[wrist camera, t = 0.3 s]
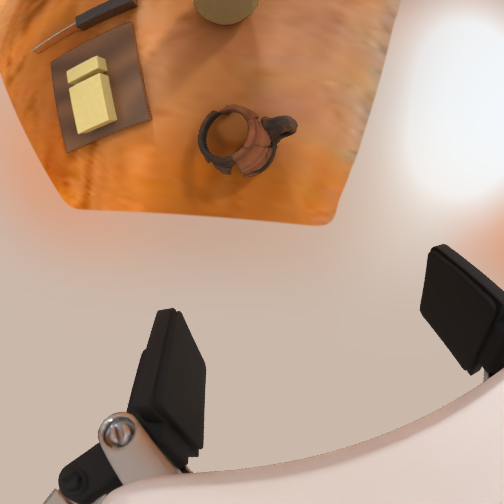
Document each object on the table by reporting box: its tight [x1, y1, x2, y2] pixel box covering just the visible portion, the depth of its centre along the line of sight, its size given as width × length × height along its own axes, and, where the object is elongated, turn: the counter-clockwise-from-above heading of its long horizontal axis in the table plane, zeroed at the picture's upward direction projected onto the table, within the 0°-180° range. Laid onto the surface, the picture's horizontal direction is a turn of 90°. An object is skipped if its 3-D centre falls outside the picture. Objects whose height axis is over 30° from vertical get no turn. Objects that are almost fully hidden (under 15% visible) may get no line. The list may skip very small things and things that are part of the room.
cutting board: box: [51, 22, 152, 153], centre depth 28 cm, size 16×14×1 cm
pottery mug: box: [198, 105, 298, 177], centre depth 32 cm, size 12×10×8 cm
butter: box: [69, 73, 117, 134], centre depth 28 cm, size 7×5×3 cm
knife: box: [31, 0, 137, 53], centre depth 23 cm, size 2×18×3 cm, turn 101°
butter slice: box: [67, 56, 107, 85], centre depth 26 cm, size 2×5×3 cm, turn 101°
